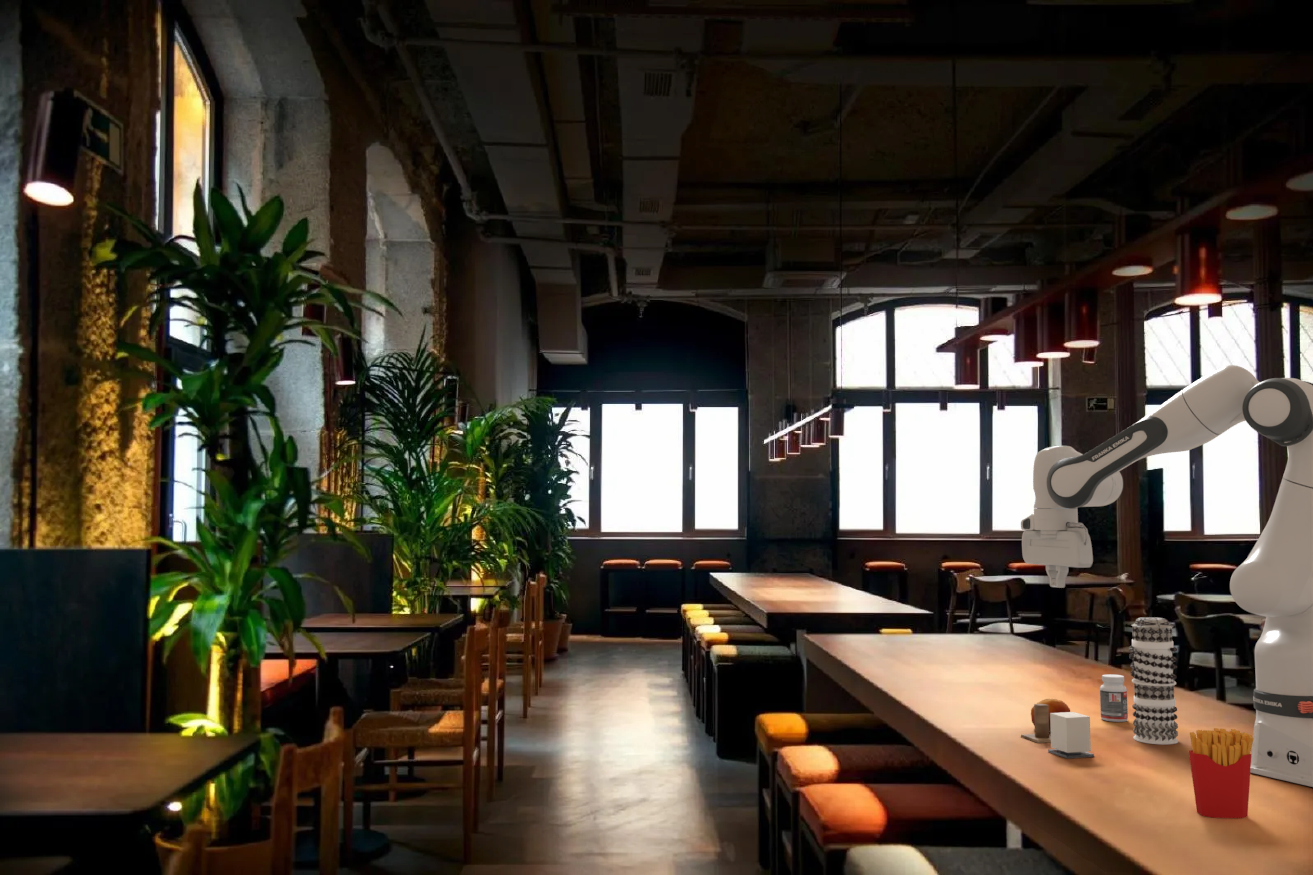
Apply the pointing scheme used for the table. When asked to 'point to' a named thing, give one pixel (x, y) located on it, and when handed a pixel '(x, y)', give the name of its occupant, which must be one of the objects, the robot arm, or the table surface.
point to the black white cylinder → (1153, 681)
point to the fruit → (1052, 708)
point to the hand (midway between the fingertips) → (1057, 587)
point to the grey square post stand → (1070, 754)
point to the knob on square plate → (1040, 725)
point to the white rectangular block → (1070, 732)
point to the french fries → (1221, 772)
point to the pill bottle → (1113, 698)
